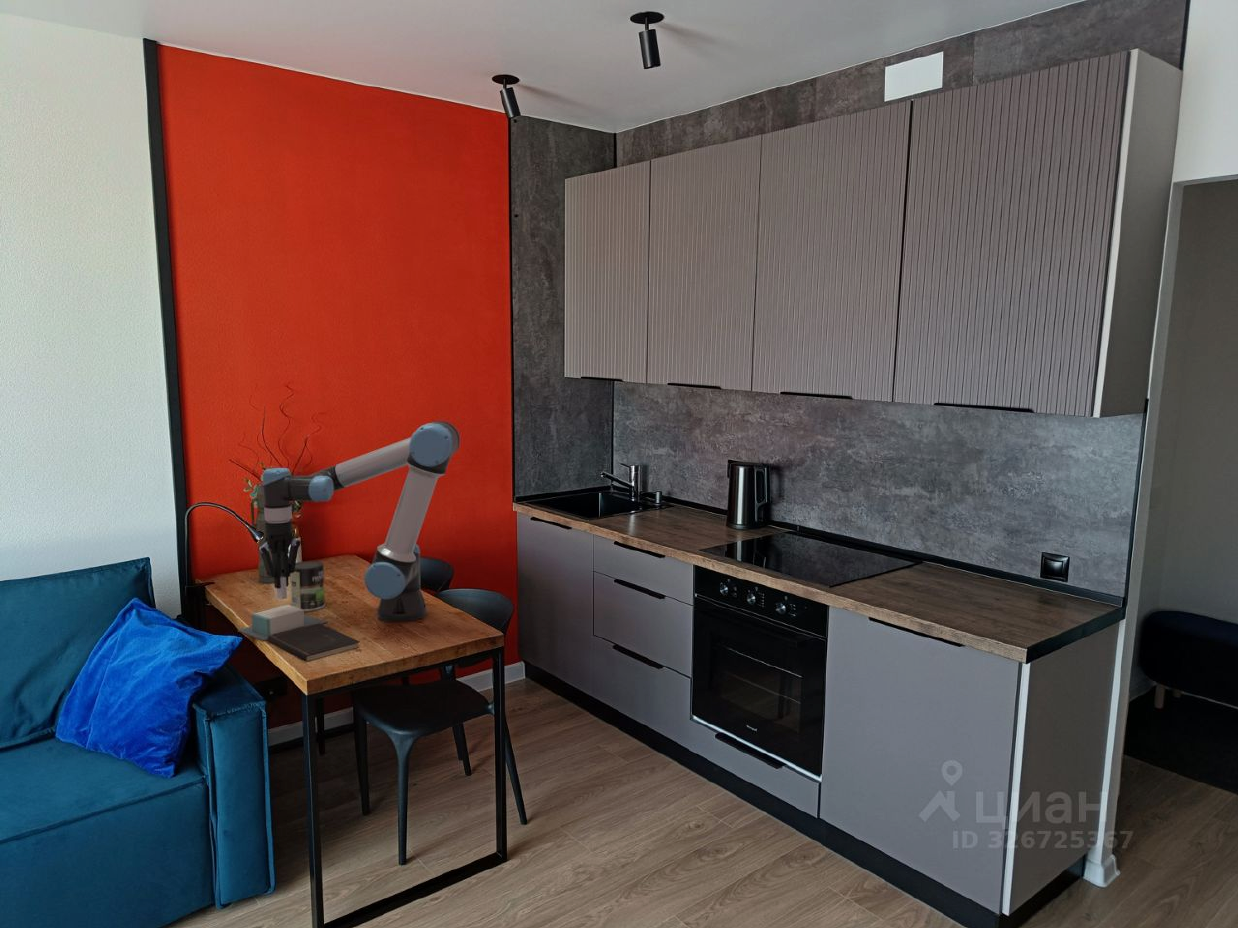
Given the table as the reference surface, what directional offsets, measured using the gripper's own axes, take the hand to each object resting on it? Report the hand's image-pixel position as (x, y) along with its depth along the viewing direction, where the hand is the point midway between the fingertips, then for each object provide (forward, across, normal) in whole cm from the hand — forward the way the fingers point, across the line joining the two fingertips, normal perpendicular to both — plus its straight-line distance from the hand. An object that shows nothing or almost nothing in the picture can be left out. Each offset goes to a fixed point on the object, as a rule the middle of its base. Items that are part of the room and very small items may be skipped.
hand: (282, 597), depth 254 cm
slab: (+7, -4, 0) cm, 8 cm away
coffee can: (+10, -17, -13) cm, 23 cm away
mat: (+9, 0, -1) cm, 9 cm away
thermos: (+10, -27, -51) cm, 59 cm away
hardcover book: (+10, +3, +19) cm, 22 cm away
